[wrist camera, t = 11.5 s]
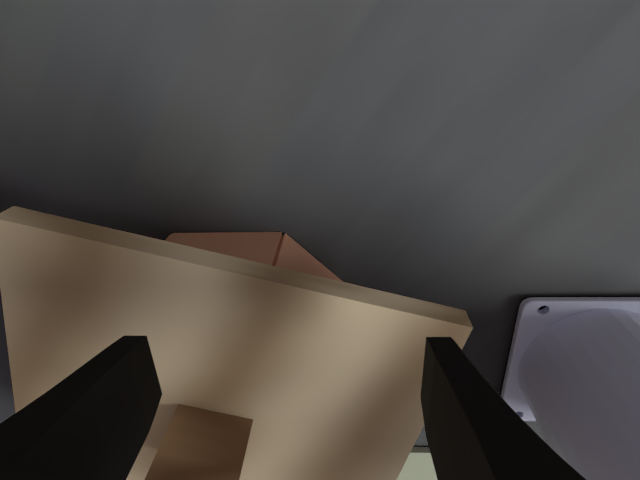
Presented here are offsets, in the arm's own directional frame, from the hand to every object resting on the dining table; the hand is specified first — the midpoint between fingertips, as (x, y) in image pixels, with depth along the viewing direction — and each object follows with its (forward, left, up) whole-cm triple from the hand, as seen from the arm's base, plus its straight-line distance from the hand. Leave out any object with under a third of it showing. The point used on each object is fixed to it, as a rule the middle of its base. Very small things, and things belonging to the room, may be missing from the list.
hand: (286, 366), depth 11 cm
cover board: (+4, +7, -4) cm, 9 cm away
